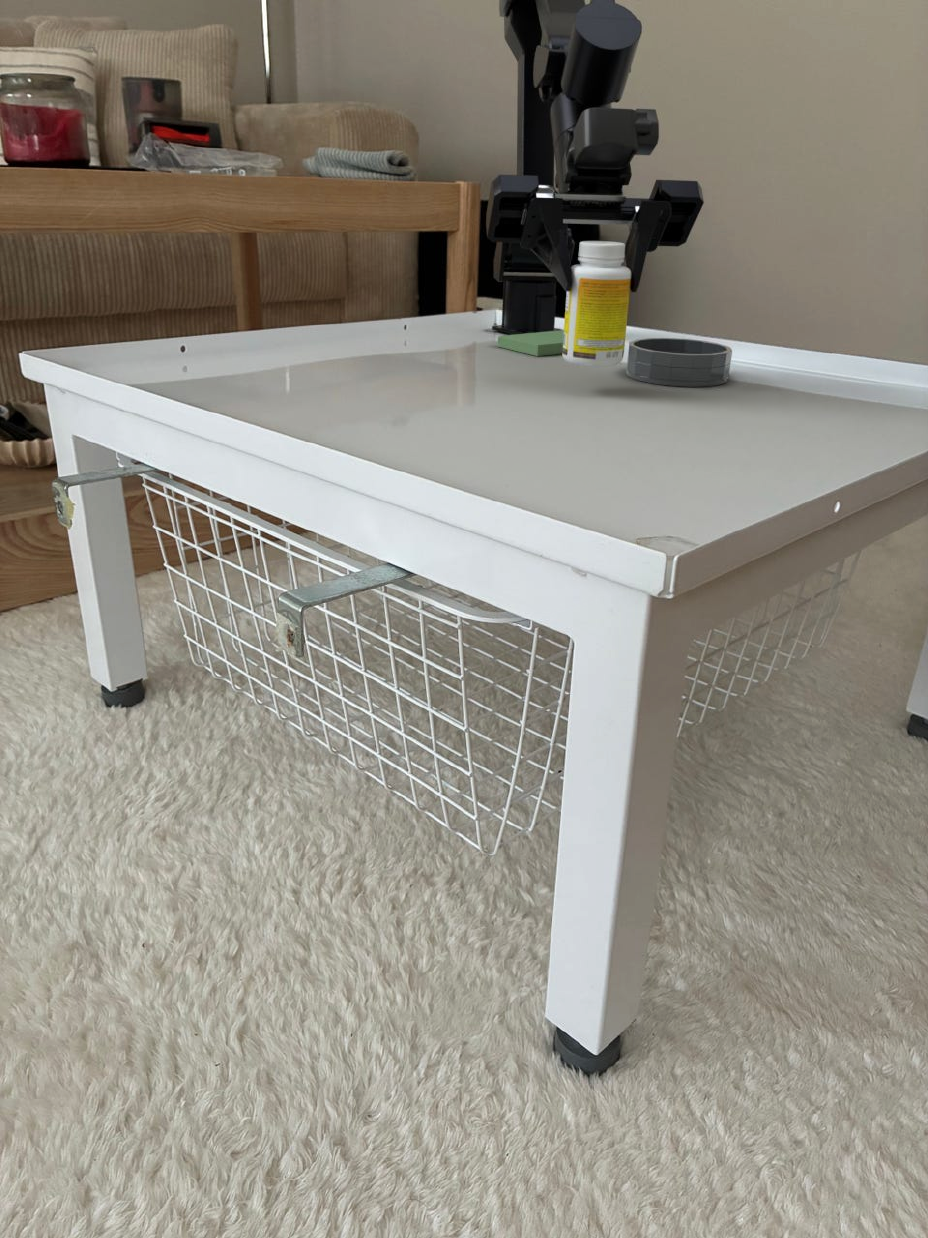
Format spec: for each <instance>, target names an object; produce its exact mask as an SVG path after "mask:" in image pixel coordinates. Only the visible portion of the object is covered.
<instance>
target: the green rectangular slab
mask: <svg viewBox="0 0 928 1238" xmlns="http://www.w3.org/2000/svg"><path fill="white" fill-rule="evenodd" d="M563 337H564V329H562V330H559V331H548V332H537V333H526V334H515V335H514V334H505V335H498V336H497V347H498V348H502V349H505V350H510V351H513V352H518V353H523V354H525V355H526V354H527V355H531V356H534V357H543V356H553V355H561V354H562V353H563Z"/></svg>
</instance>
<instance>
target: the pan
mask: <svg viewBox="0 0 928 1238" xmlns="http://www.w3.org/2000/svg"><path fill="white" fill-rule="evenodd" d="M732 355H733V350H732V348H731V347H730V346H728V345H725V344H722V343H718V342H713V341H707V340H700V339H690V338H677V337H676V338H675V337H648V338H647V337H646V338H638V339H634V340H631V341H629V342H628V349H627V356H626V357H627V358H626V372H625V374H626V376H627V377H629V378H631V379H633V380H636V381H639V382H643V383H647V384H653V385H661V386H668V387H669V386H670V387H684V388H686V387H688V388H690V387H691V388H701V387H714V386H720V385H723V384H726V383H727V382H728V377H729V376H730V370H731V362H732Z"/></svg>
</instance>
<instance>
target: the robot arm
mask: <svg viewBox="0 0 928 1238" xmlns="http://www.w3.org/2000/svg"><path fill="white" fill-rule="evenodd" d="M498 12H499V17H501V18H503V36H504V37H503V38H504V40H505V42H506V44H507V46H508V48H509V49H510V51H511V52H512V54H513V56H514V58H515V60H516V62H517V94H516V95H517V97H516V100H517V102H516V103H517V104H516V105H517V106H516V107H517V108H516V109H517V110H516V111H517V113H516V114H517V117H516V118H517V119H516V120H517V121H516V174H500V173H499V174H497V175H496V176H495V177H494V178H493V179H492V180H491V185H490V189H489V196H488V197H489V198H488V201H487V202H488V203H487V209H486V217H485V219H486V220H485V228H486V238H487V239H488V240H489V241H491V242H492V243H496V245H495V251H494V257H493V279H494V280H496V281H497V282H498V283H499V282H500V283H501V282H503V286H502V287H503V288H502V309H501V324H498V325H491V330H492V331H496V332H501V333H505V334H508V335H515V334H526V333H537V332H548V331H559V330H563V329H562V328H557V327H555V323H556V322H555V321H556V307H557V295H556V287H557V286H556V285H557V283H559V285H560V286H561V287H562V288H563V290H564V291H565V292H567V291H570V290H571V287H572V269H571V267H572V259H573V255H574V251H575V247H576V242H575V241H574V239H573V235H572V230H571V228H568V224H572V225H573V224H577V225H579V224H580V225H613V226H627V227H628V229H629V230H628V231H629V234H628V236H627V239H626V242H625V253H624V256H625V257H624V258H625V259H624V260H625V267H627V268H629V269H630V271H631V285H630V292H631V293H637V291H638V288H639V286H640V284H641V279H642V274H643V270H644V267H645V266H644V265H645V261H646V257H647V253H652V252H655V251H656V250H657V249H658V247H677V248H678V247H680V246H682V245H684V244H686V243H687V241H688V239H689V236H690V234H691V232H692V230H693V228H694V226H695V223H696V220H697V219H698V216H699V215H700V212H701V210H702V208H703V206H704V204H705V201H704V195H703V188H702V186H701V185H700V184H699V181H698V180H688V179H687V180H682V179H655V182H654V184H653V188H652V190H651V193H650V195H649V197H648V198H645V197H644V198H641V197H640V198H639V197H627V194H626V193H624V190H623V189H624V188H623V187H624V186H629V185H630V182H631V179H632V175H633V174H632V165H631V162H632V161H633V159H634V157H635V156H651V155H652V153H653V151H654V150H656V149H655V148H656V147H657V145H658V144H659V140H660V121H659V117H658V114H657V110H656V108H655V109H654V108H635V109H633V108H617V107H615V108H614V107H613V106H612V103H619V102H620V101H621V99H622V98H623V95H624V93H625V89H626V86H627V82H628V79H629V77H630V76H629V75H630V73H631V72H632V65H633V63H634V60H635V56H636V52H637V50H638V46H639V42H640V39H641V35H642V31H643V28H642V27H643V25H642V21H641V20H640V19H638V18H637V16H636V15H635V14H634V13H633V12H632V11H631V10H630V9H628V8H627V7H625V6H623V5H621V4H619V3H616V0H589V3H586V0H498ZM555 171H556V172H555ZM556 188H557V190H556ZM505 269H511V270H549V272H517V271H515V272H514V271H510V272H509V271H505Z"/></svg>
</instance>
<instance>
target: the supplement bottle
mask: <svg viewBox="0 0 928 1238" xmlns="http://www.w3.org/2000/svg"><path fill="white" fill-rule="evenodd" d="M625 245H626V243H623V242H621V241H619V242H618V241H609V240H608V241H607V240H582V241H580V242H579V246H578V247H579V248H578V254H577V255H578V256H577V261H578V262H579V263H577V264H574V265H571V269H572V287H571V290H570V291H566V295H565V296H566V297H565V307H564V309H565V312H564V322H563V323H564V324H563V330H564V337H563V353H562V358H563V360H564V361H565V362H566V363H568V364H571V365H573V366H574V365H576V366H581V367H590V368H607V367H613V366H617V365H619V364H621V363H622V361H623V360H624V354H625V344H626V334H627V326H628V325H627V324H628V314H629V303H630V292H631V289H630V285H631V271H630V269H629V268H627V267H626V265H625V266H624V265H622V264H623V263H624V262H625V259H624V258H625Z"/></svg>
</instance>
